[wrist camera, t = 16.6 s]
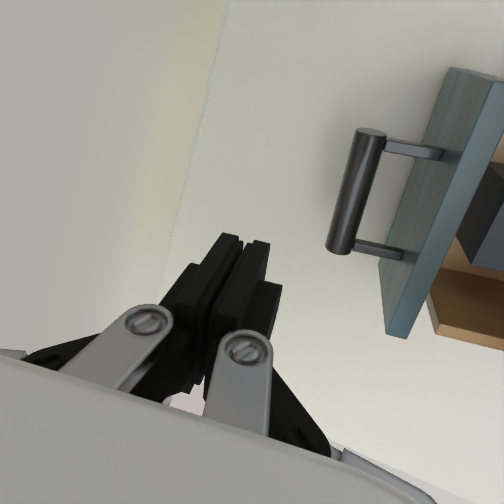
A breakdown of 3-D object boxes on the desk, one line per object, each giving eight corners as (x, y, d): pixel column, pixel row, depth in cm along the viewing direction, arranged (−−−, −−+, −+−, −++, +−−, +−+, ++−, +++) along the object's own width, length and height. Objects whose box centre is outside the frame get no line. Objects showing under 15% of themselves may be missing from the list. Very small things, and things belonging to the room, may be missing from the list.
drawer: (319, 251, 28) (309, 315, 22) (370, 54, 21) (377, 62, 15) (557, 305, 26) (626, 395, 19) (702, 104, 19) (885, 139, 12)
